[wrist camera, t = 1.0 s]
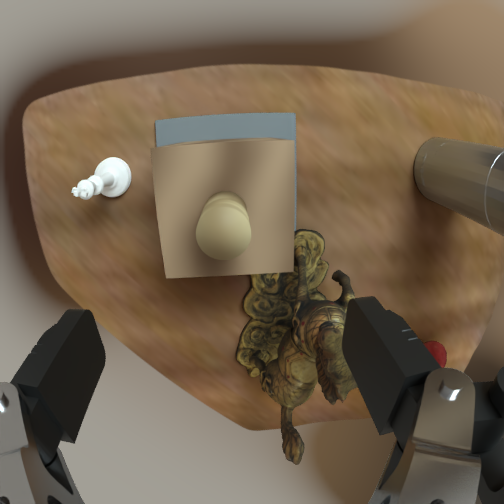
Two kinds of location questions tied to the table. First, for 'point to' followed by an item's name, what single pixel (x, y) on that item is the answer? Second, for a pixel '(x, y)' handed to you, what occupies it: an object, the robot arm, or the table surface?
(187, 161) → the cover
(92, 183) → the chess piece
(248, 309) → the figurine
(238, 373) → the table surface
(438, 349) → the onion
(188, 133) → the mat
